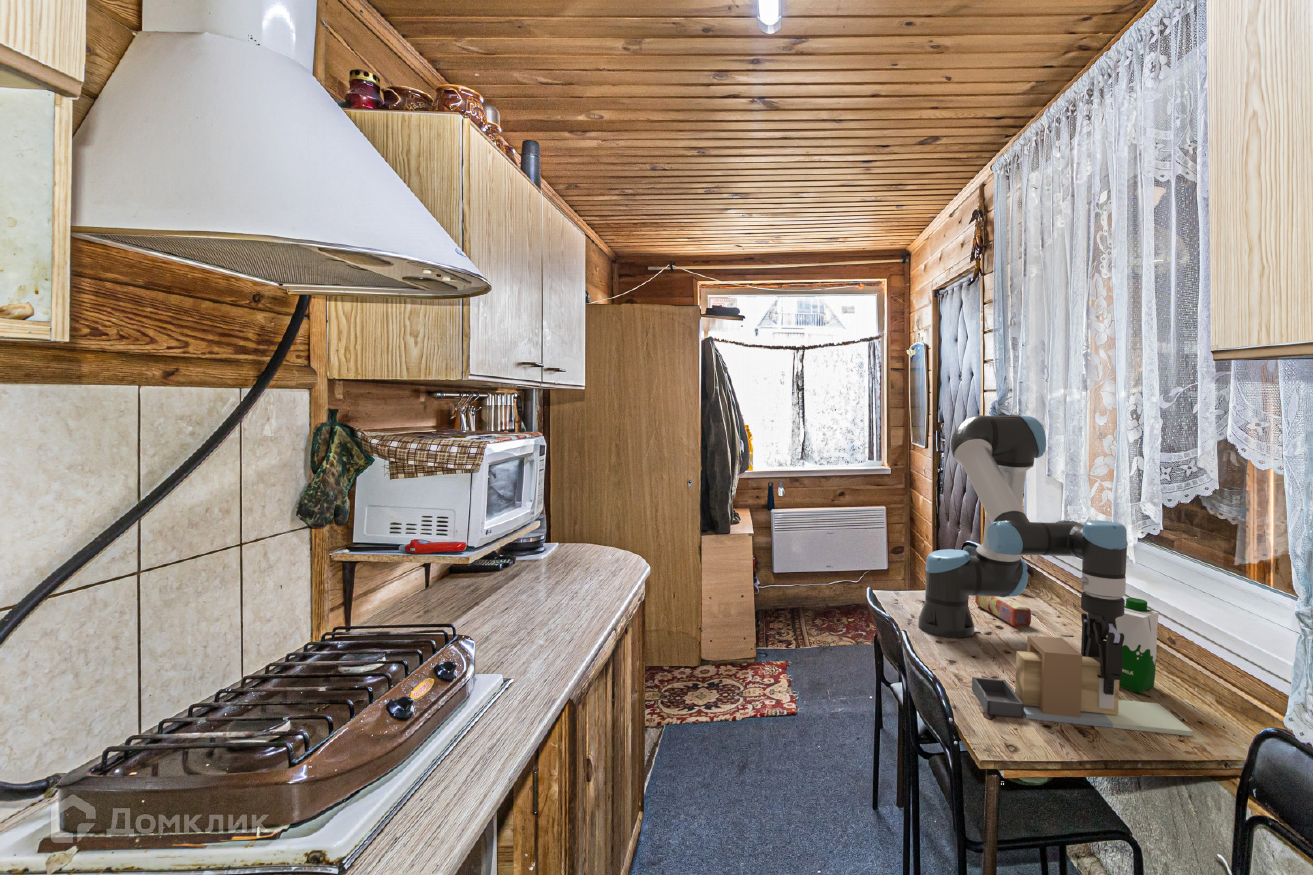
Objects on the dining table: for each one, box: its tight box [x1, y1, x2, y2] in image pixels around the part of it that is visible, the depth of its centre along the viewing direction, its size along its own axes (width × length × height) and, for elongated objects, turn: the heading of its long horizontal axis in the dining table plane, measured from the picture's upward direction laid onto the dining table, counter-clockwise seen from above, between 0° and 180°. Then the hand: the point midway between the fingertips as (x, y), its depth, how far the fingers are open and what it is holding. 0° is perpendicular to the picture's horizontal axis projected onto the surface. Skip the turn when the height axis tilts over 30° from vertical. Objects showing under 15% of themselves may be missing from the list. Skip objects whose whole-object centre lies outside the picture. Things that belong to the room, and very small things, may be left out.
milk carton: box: [1115, 597, 1159, 694], centre depth 145 cm, size 9×9×20 cm
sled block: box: [1014, 650, 1120, 715], centre depth 132 cm, size 5×18×10 cm, turn 77°
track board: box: [1012, 634, 1194, 737], centre depth 131 cm, size 12×30×14 cm, turn 77°
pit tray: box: [971, 676, 1025, 719], centre depth 136 cm, size 12×7×3 cm, turn 167°
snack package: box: [974, 596, 1032, 628], centre depth 195 cm, size 21×7×7 cm, turn 1°
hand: (1099, 701), depth 131 cm, fingers closed on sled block, 5 cm apart
